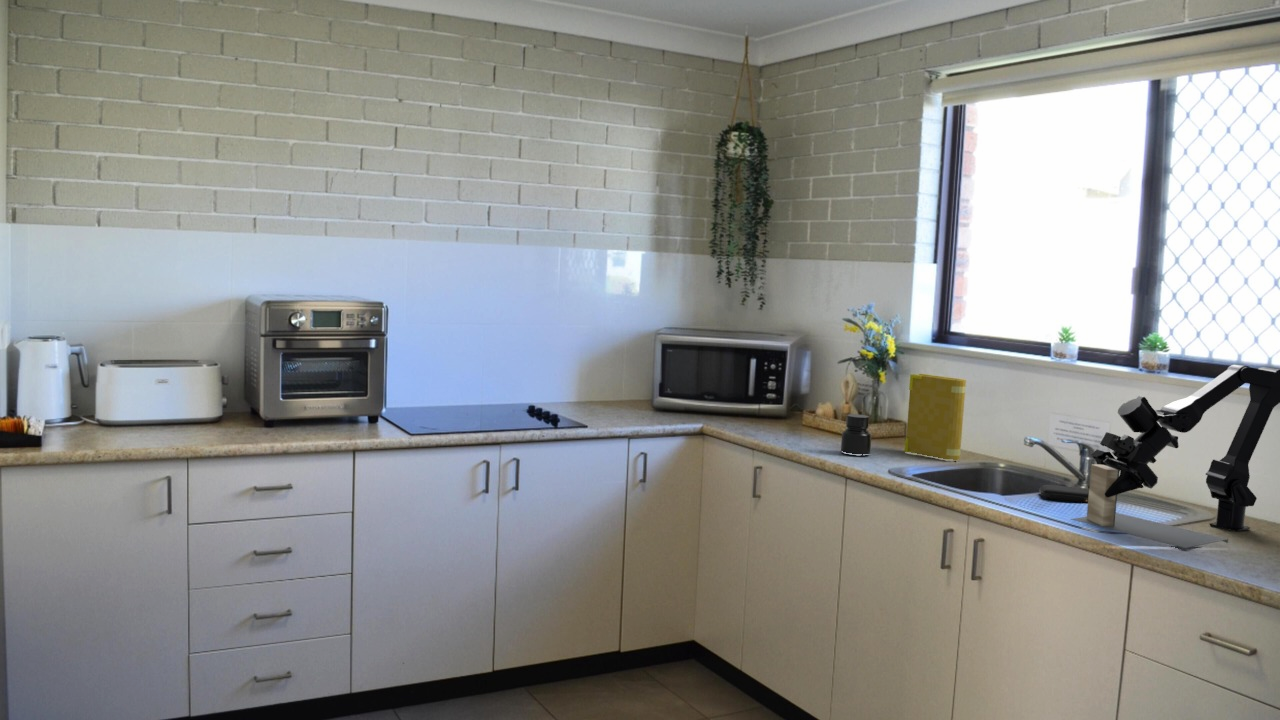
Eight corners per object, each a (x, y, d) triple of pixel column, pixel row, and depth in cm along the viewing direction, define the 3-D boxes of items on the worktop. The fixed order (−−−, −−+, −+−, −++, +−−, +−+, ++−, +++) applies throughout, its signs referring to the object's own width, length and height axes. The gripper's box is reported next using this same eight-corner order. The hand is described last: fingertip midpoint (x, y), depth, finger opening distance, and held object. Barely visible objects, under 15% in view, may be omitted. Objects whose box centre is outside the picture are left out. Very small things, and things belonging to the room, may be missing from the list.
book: (904, 453, 329) (910, 374, 327) (916, 451, 333) (922, 373, 331) (951, 462, 316) (958, 380, 314) (963, 460, 321) (970, 379, 319)
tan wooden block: (1098, 519, 246) (1103, 464, 245) (1114, 526, 240) (1119, 470, 238) (1086, 518, 246) (1091, 464, 244) (1102, 525, 239) (1107, 469, 238)
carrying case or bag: (1041, 501, 267) (1103, 508, 263) (1042, 490, 267) (1105, 496, 263) (1037, 493, 277) (1097, 500, 273) (1038, 482, 277) (1098, 488, 273)
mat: (1114, 514, 255) (1114, 512, 255) (1227, 541, 233) (1228, 539, 232) (1070, 521, 244) (1070, 519, 244) (1184, 550, 222) (1185, 547, 222)
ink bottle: (876, 455, 322) (879, 417, 321) (861, 458, 316) (864, 419, 315) (849, 450, 329) (852, 412, 328) (833, 453, 322) (836, 414, 321)
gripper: (1102, 415, 250) (1055, 460, 250) (1150, 428, 232) (1099, 475, 231) (1130, 449, 252) (1083, 493, 251) (1179, 464, 234) (1129, 511, 233)
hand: (1097, 492), depth 242 cm, fingers closed on tan wooden block, 6 cm apart
